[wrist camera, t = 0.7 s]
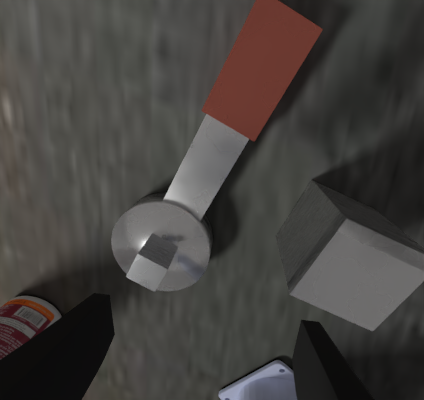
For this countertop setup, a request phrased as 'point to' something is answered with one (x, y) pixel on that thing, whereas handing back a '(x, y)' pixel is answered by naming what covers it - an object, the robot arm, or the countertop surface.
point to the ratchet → (213, 151)
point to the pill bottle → (24, 321)
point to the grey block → (347, 257)
